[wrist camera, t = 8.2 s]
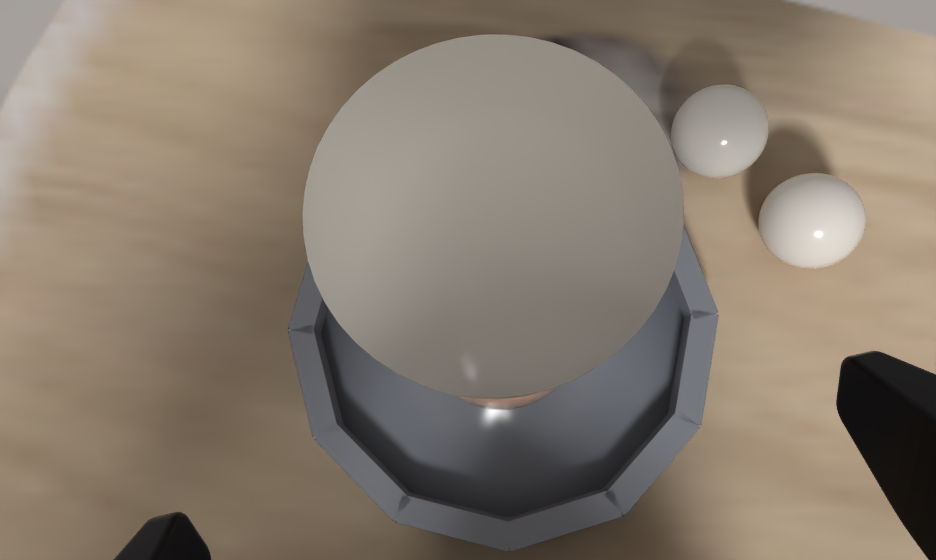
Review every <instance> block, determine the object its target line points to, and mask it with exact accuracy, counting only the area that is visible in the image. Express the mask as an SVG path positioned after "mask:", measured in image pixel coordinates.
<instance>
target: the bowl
mask: <svg viewBox="0 0 936 560" xmlns="http://www.w3.org/2000/svg"><path fill="white" fill-rule="evenodd" d="M716 313H718V310H717V308H716V305H715V303H714V300H713V298H712V295H711V293H710V290H709V288H708V285H707V283H706V280H705V278H704V275H703V273H702V270H701V268H700V265H699V263H698V260H697V258H696V255H695V253H694V250H693V248H692V245H691V243H690V240H689V238H688V235H687V233H686V230H685V228H684V225H683V233H682V243H681V247H680V251H679V255H678V259H677V263H676V267H675V269H674V272H673V274H672V277H671V279H670V282H669V284H668V287H667V289H666V291H665V293H664V295H663V296H662V298H661V300H660V301H659V303H658V305H657V307H656V308H655V310H654V312H653V313H652V314H651V316H650V317H649V318H648V320H647V321H646V322H645V323H644V325H643V326H642V327H641V329H640V330H639V331H638V332H637V333H636V334H635V335H634V336H633V337H632V338H631V339H630V340H629V341H628V342H627V343H626V344H625V345H624V346H623V347H622V348H621V349H620V350H618V351H617V352H616V353H614V354H613V355H612V356H610V357H609V358H608V359H606V360H605V361H604V362H602V363H601V364H600V365H598V366H597V367H596V368H594V369H593V370H591V371H590V372H588V373H586V374H584V375H582V376H581V377H579V378H577V379H575V380H573V381H571V382H570V383H567V384H564V385H562V386H559V387H557V388H556V389H555V390H554V391H553V392H551V393H550V394H549V395H547V396H546V397H544V398H543V399H541V400H539V401H537V402H535V403H533V404H530V405H528V406H525V407H521V408H517V409H510V410H491V409H485V408H481V407H477V406H474V405H471V404H469V403H467V402H465V401H463V400H461V399H459V398H458V397H456V396H455V395H450V394H447V393H443V392H440V391H437V390H434V389H430V388H427V387H425V386H423V385H421V384H418V383H416V382H414V381H412V380H410V379H408V378H406V377H404V376H402V375H400V374H398V373H396V372H394V371H393V370H391V369H390V368H388V367H387V366H385V365H384V364H382V363H380V362H379V361H377V360H376V359H374V358H373V357H372V356H371V355H370V354H368V353H367V352H366V351H365V350H364V349H363V348H361V347H360V346H359V345H358V344H357V343H356V342H355V341H354V340H353V339H352V338H351V337H350V336H349V335H348V334H347V332H346V331H345V330H344V329H343V328H342V327H341V326H340V325H339V323H338V322H337V320H336V319H335V317H334V316H333V314H332V313H331V311H330V310H329V308H328V307H327V305H326V304H325V302H324V300H323V298H322V296H321V294H320V291H319V289H318V287H317V285H316V283H315V281H314V278H313V275H312V272H311V268H310V265H309V262H308V263H307V267H306V270H305V273H304V277H303V280H302V283H301V287H300V290H299V294H298V297H297V300H296V304H295V307H294V310H293V314H292V317H291V320H290V324H289V327H288V329H290V330H291V331H288V334H289V338H290V342H291V346H292V351H293V355H294V359H295V363H296V368H297V372H298V376H299V380H300V385H301V389H302V393H303V397H304V402H305V406H306V410H307V414H308V419H309V423H310V427H311V431H312V436H313V437H316V438H315V439H314V440H315V441H316V442H317V443H318V444H319V445H320V446H321V447H322V448H323V449H324V450H325V451H326V452H327V453H328V454H329V455H330V456H331V457H332V458H333V459H334V460H335V461H336V462H337V464H338V465H339V466H340V467H341V468H342V469H343V470H344V471H345V472H346V473H347V474H348V475H349V476H350V477H351V478H352V479H353V480H354V481H355V482H356V483H357V484H358V485H359V486H360V487H361V488H362V489H363V491H364V492H365V493H366V494H367V495H368V496H369V497H370V498H371V499H372V500H373V501H374V502H375V503H376V504H377V505H378V506H379V507H380V508H381V509H382V510H383V511H384V512H385V513H386V514H387V515H388V516H389V518H390V519H391V520H392V521H393V520H394V519H395V518H396V520H395V522H397V523H400V524H404V525H408V526H412V527H416V528H420V529H423V530H427V531H431V532H435V533H439V534H442V535H446V536H450V537H454V538H458V539H462V540H465V541H469V542H473V543H477V544H481V545H485V546H488V547H492V548H496V549H500V550H504V551H508V548H510V551H514V550H517V549H520V548H523V547H527V546H530V545H533V544H536V543H540V542H543V541H546V540H549V539H552V538H556V537H559V536H562V535H565V534H569V533H572V532H575V531H578V530H581V529H585V528H588V527H591V526H594V525H597V524H601V523H604V522H607V521H610V520H614V519H617V518H620V517H623V516H622V513H623V514H624V515H626V513H627V512H628V511H629V510H630V509H631V508H632V506H633V505H634V504H635V503H636V502H637V501H638V499H639V498H640V497H641V496H642V495H643V494H644V492H645V491H646V490H647V489H648V488H649V487H650V485H651V484H652V483H653V482H654V481H655V480H656V478H657V477H658V476H659V475H660V474H661V473H662V471H663V470H664V469H665V468H666V467H667V466H668V464H669V463H670V462H671V461H672V460H673V459H674V457H675V456H676V455H677V454H678V453H679V452H680V450H681V449H682V448H683V447H684V446H685V445H686V443H687V442H688V441H689V440H690V439H691V438H692V436H693V435H694V434H695V433H696V432H697V431H698V429H699V428H700V427H699V426H698V425H701V424H702V417H703V411H704V405H705V398H706V392H707V385H708V379H709V373H710V366H711V360H712V354H713V347H714V341H715V334H716V328H717V322H718V315H717V314H716Z"/></svg>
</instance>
